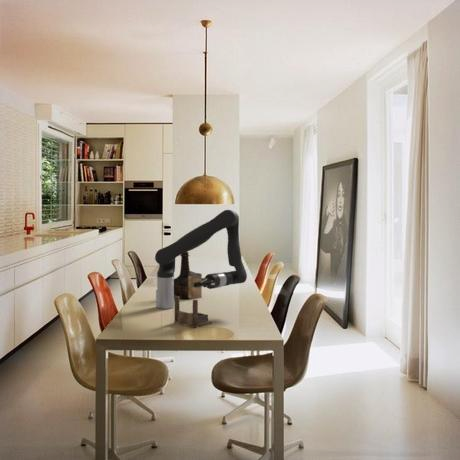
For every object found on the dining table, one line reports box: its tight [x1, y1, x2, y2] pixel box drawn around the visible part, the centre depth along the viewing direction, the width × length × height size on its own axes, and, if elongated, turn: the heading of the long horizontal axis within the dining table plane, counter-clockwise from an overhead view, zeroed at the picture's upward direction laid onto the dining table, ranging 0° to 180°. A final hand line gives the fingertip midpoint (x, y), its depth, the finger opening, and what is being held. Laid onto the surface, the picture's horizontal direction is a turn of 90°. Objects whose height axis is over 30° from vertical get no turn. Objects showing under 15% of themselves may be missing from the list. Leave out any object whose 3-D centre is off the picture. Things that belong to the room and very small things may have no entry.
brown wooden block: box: [188, 272, 203, 300], centre depth 264 cm, size 4×5×12 cm
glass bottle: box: [174, 251, 191, 299], centre depth 331 cm, size 18×18×28 cm
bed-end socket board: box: [173, 295, 213, 329], centre depth 264 cm, size 15×12×13 cm
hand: (190, 284), depth 262 cm, fingers closed on brown wooden block, 4 cm apart
